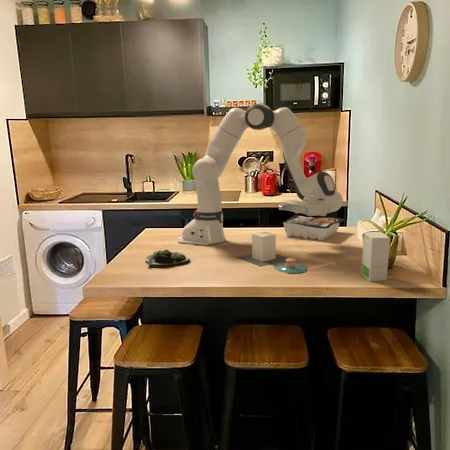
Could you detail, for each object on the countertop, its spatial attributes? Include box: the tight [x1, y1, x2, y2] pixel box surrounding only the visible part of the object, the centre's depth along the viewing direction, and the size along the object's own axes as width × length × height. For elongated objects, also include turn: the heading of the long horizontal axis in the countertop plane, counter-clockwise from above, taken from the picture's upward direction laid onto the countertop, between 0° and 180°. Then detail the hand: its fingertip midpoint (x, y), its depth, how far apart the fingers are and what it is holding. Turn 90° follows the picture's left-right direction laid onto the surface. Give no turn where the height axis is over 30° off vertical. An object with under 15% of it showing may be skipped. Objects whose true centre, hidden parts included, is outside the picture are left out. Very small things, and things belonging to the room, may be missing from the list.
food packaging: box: [281, 214, 346, 241], centre depth 230 cm, size 25×8×23 cm
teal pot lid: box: [274, 257, 308, 275], centre depth 177 cm, size 12×12×4 cm
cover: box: [251, 231, 277, 262], centre depth 189 cm, size 7×7×10 cm
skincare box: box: [360, 231, 391, 282], centre depth 164 cm, size 8×7×16 cm
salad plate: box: [144, 249, 191, 269], centre depth 191 cm, size 19×18×5 cm
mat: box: [235, 253, 288, 267], centre depth 190 cm, size 16×16×1 cm
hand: (287, 209), depth 193 cm, fingers open, 8 cm apart
